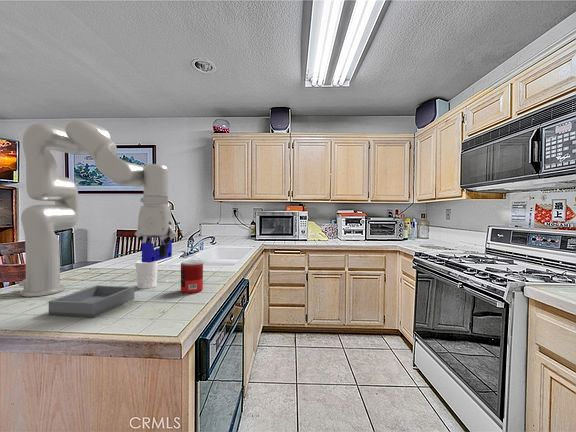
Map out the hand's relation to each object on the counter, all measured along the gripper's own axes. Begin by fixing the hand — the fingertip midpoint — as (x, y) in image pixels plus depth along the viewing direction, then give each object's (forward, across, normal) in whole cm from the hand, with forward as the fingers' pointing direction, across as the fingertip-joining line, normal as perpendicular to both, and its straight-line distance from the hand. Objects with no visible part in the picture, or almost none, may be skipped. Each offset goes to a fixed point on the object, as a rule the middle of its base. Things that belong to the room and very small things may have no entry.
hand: (155, 255), depth 99 cm
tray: (+15, -15, -9) cm, 23 cm away
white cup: (+15, -13, +15) cm, 25 cm away
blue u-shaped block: (+1, 0, 0) cm, 1 cm away
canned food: (+15, +7, +12) cm, 21 cm away
